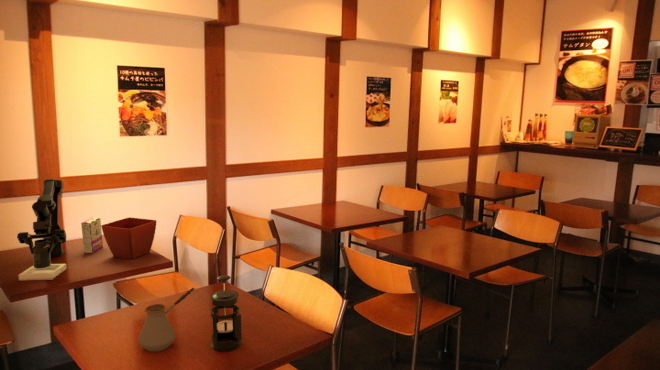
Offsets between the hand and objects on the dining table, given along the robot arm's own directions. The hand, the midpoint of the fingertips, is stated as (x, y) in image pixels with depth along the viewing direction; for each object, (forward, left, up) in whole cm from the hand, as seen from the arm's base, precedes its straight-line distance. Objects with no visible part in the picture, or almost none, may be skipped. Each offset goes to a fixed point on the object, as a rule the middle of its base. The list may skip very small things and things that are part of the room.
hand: (40, 252), depth 218 cm
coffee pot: (+66, +72, -11) cm, 98 cm away
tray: (-1, 0, -10) cm, 11 cm away
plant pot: (-28, +30, -11) cm, 43 cm away
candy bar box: (-37, +8, -11) cm, 39 cm away
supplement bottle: (-1, -1, -7) cm, 7 cm away
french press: (+71, +91, -11) cm, 116 cm away
